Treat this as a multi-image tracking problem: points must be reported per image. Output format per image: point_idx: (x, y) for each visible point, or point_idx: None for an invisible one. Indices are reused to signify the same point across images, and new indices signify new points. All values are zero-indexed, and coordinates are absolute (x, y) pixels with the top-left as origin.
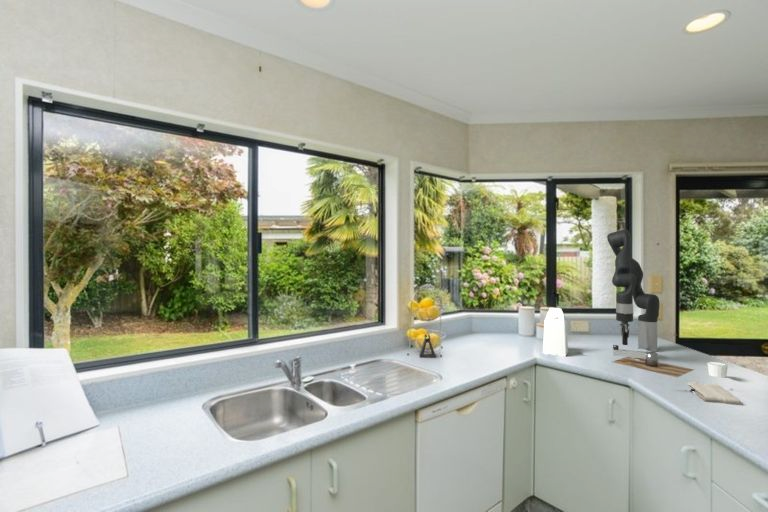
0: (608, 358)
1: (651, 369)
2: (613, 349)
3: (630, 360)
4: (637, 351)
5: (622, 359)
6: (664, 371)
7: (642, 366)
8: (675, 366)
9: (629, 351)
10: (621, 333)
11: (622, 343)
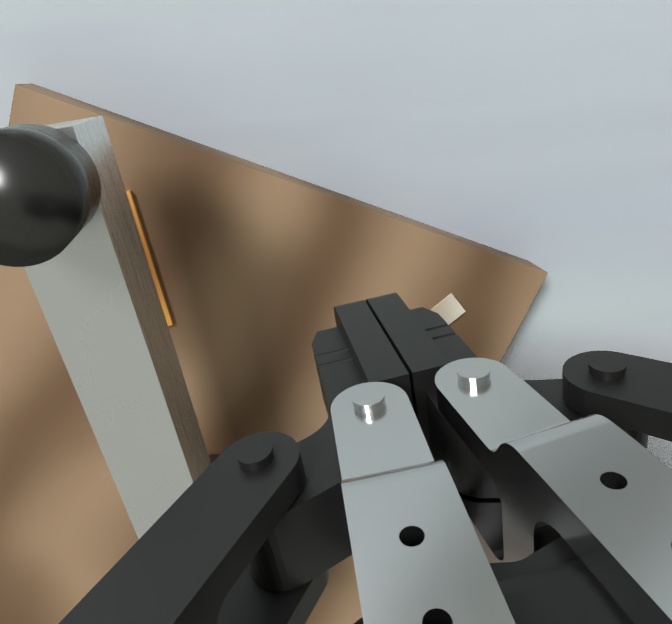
0: (405, 8)
1: (30, 522)
2: (50, 129)
3: (306, 304)
4: (165, 503)
5: (298, 215)
6: (51, 605)
7: (95, 442)
8: (328, 622)
9: (87, 410)
10: (619, 379)
11: (355, 306)
